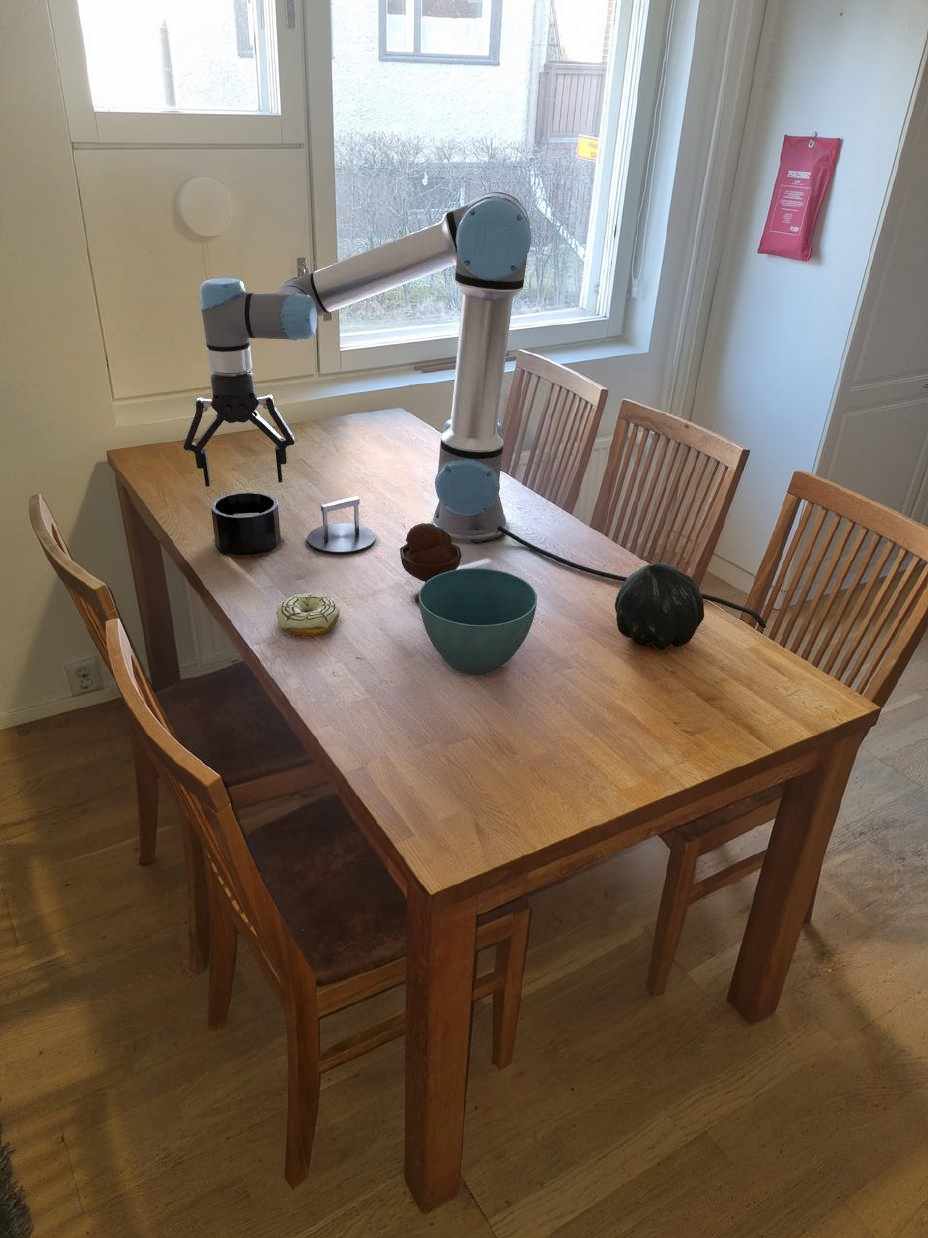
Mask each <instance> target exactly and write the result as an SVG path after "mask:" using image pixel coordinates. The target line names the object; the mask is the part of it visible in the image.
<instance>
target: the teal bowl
mask: <svg viewBox="0 0 928 1238" xmlns="http://www.w3.org/2000/svg"><path fill="white" fill-rule="evenodd" d="M418 593H419V604H418V605H419V610H420V615H421V620H422V623H423V626H424V629H425V632H426V634H427V636H428V638H429V640H430V642H431V644H432V645H433V647H434V649H435V650H436V651H437V653H438V654H439V655H440V656H441V657H442V659H443V660H444V661H445V662H446V663H447V664H448V665H449V666H450V667H451V668H453V669H454V670H455V671H457V672H459V673H462V674H465V675H468V676H469V675H470V676H484V675H485V676H486V675H488V674H492V673H494V672H496V671H497V670H499V669H500V668H502V667H503V666H504V665H505V664H506V663H508V662H509V661H510V660H511V659H512V658H513V656H515V654H516V653H517V652H518V651H519V649H520V648H521V646H522V645H523V643H524V642H525V640H526V638H527V637H528V635H529V633H530V630H531V627H532V625H533V621H534V618H535V616H536V615H535V614H536V610H537V607H538V606H537V605H538V594H537V592H536V590H535V588H534V587H533V586H532V585H531V584H530V583H529V582H528V581H526V580H525V579H523V578H521V577H519V576H517V575H515V574H513V573H510V572H507V571H503V570H498V569H492V568H485V567H483V568H481V567H468V568H467V567H466V568H457V569H456V570H452V571H448V572H444V573H441V574H439V575H437V576H435V577H433V578H431V579H429V580H428V581H427V582H426V583H425V582H424V583H423V584H422V586H421V587H420V589H419V592H418Z"/></svg>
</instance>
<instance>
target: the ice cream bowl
mask: <svg viewBox="0 0 928 1238" xmlns="http://www.w3.org/2000/svg"><path fill="white" fill-rule="evenodd" d="M405 542H406V543H405V544H404V545H403V546H401V547H399V556H400V561H401V565H402V567H403V569H404V571H406V572H407V573H408V574H409V575H410V576H412V577H413V578H415V579H417V580H418V581H421V582H424V584H425V583H426V582H427V581H428V580H429V579H431V578H433V577H435V576H437V575H439V574H441V573H444V572H448V571H452V570H457V569H459V566H460V564H461V560H462V551H461V547H460V546H458V545H456V544H455V543H453V538H452V537H451V536H450V535H449V534H448V533H447V532H445V531H444V530H443V529H441V528H439V527H436V526H434V525H433V523H430V522H427V523H425V522H421V523H418V524H416V525H413V526H412V527H411V528H410V529H409V531H408V532H407V534H406V538H405ZM414 601H415V603H416V604H418V605H420V604H419V592H417V593H416V594H415V596H414Z"/></svg>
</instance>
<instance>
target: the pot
mask: <svg viewBox="0 0 928 1238" xmlns="http://www.w3.org/2000/svg"><path fill="white" fill-rule="evenodd" d="M278 502H279V501H278V499H276V498H275V497H274V496H273V495H270V494H267V493H264V492H260V491H259V492H258V491H240V492H239V491H238V492H233V493H229V494H225V495H222V496H220V497H217V498H216V499H215V500H214V501H212V503H211V505H210V511H211V518H212V528H213V536H214V542H215V543H214V544H215V548H216V550H217V552H219V553H220V554H222V555H224V556H227V557H230V555H233V556H239V557H241V556H242V557H243V556H245V557H246V556H257V555H260V554H265V553H268V552H270V551H272V550H274V549H275V548H277V547H278V546H279V545H280V543H281V542H282V540H281V527H280V525H281V524H280V515H279V514H280V513H279V503H278ZM244 513H259V514H256V515H251V516H233V514H244Z"/></svg>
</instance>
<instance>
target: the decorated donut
mask: <svg viewBox="0 0 928 1238" xmlns="http://www.w3.org/2000/svg"><path fill="white" fill-rule="evenodd" d="M276 609H277V610H276V611H275V615H276V618H277V623H278V625H279V628H281V629H282V630H285V631H286V632H288V633H289V634H290V635H292V636H295V637H299V638H309V639H313V638H314V637H319V636H322V635H325V634H327V633H329V631H331V630H332V629H333V628H334V626H336V624H337V623H338V621H339V618H340V606H339V603H338V601H337V600H335V599H334V598H332V597H331V596H328V595H325V594H321V593H315V592H311V593H310V592H309V593H307V592H306V593H298V594H294V595H291V596H287V598H285V599H284V600H283V601H281V602H279V604H277V607H276Z"/></svg>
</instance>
